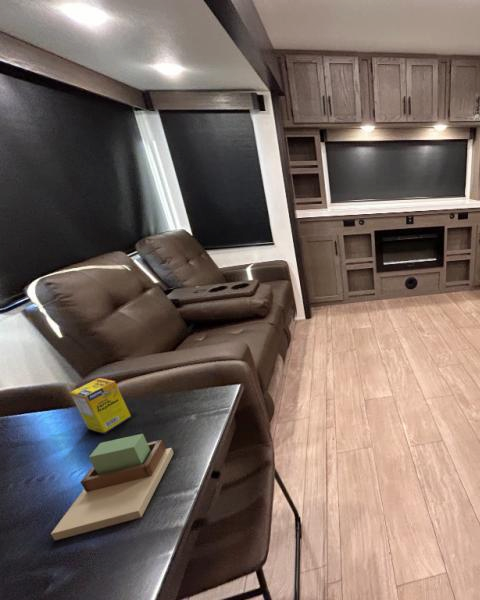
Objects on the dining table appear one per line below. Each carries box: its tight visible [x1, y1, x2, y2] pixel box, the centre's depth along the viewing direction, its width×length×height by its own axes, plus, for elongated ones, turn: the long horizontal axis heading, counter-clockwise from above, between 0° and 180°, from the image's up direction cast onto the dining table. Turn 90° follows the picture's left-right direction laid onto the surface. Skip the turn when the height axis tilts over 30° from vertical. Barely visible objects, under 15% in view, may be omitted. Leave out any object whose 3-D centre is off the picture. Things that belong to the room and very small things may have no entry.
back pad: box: [88, 433, 151, 475], centre depth 59 cm, size 4×7×6 cm, turn 105°
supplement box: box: [69, 377, 132, 435], centre depth 74 cm, size 6×6×11 cm
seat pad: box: [50, 439, 175, 541], centre depth 57 cm, size 14×12×4 cm
